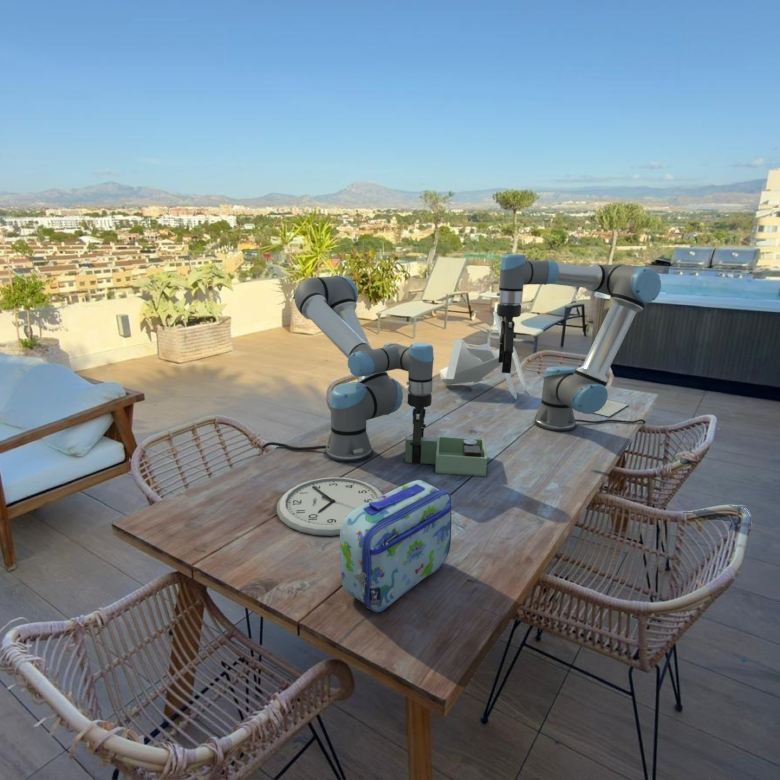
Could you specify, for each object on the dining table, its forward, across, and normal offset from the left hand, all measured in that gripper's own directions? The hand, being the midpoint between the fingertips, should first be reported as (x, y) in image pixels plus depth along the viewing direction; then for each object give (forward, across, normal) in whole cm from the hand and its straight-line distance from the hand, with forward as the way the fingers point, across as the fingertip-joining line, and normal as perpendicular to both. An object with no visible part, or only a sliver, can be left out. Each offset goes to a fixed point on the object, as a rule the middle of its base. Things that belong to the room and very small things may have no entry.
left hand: (417, 454), depth 170 cm
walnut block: (+1, +3, +17) cm, 18 cm away
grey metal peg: (+1, -3, +17) cm, 17 cm away
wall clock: (+2, +32, -21) cm, 38 cm away
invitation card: (+2, -67, +75) cm, 101 cm away
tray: (+2, 0, +9) cm, 9 cm away
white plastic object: (+2, -79, +24) cm, 82 cm away
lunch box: (+2, +62, 0) cm, 62 cm away
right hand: (-27, -16, +27) cm, 41 cm away
